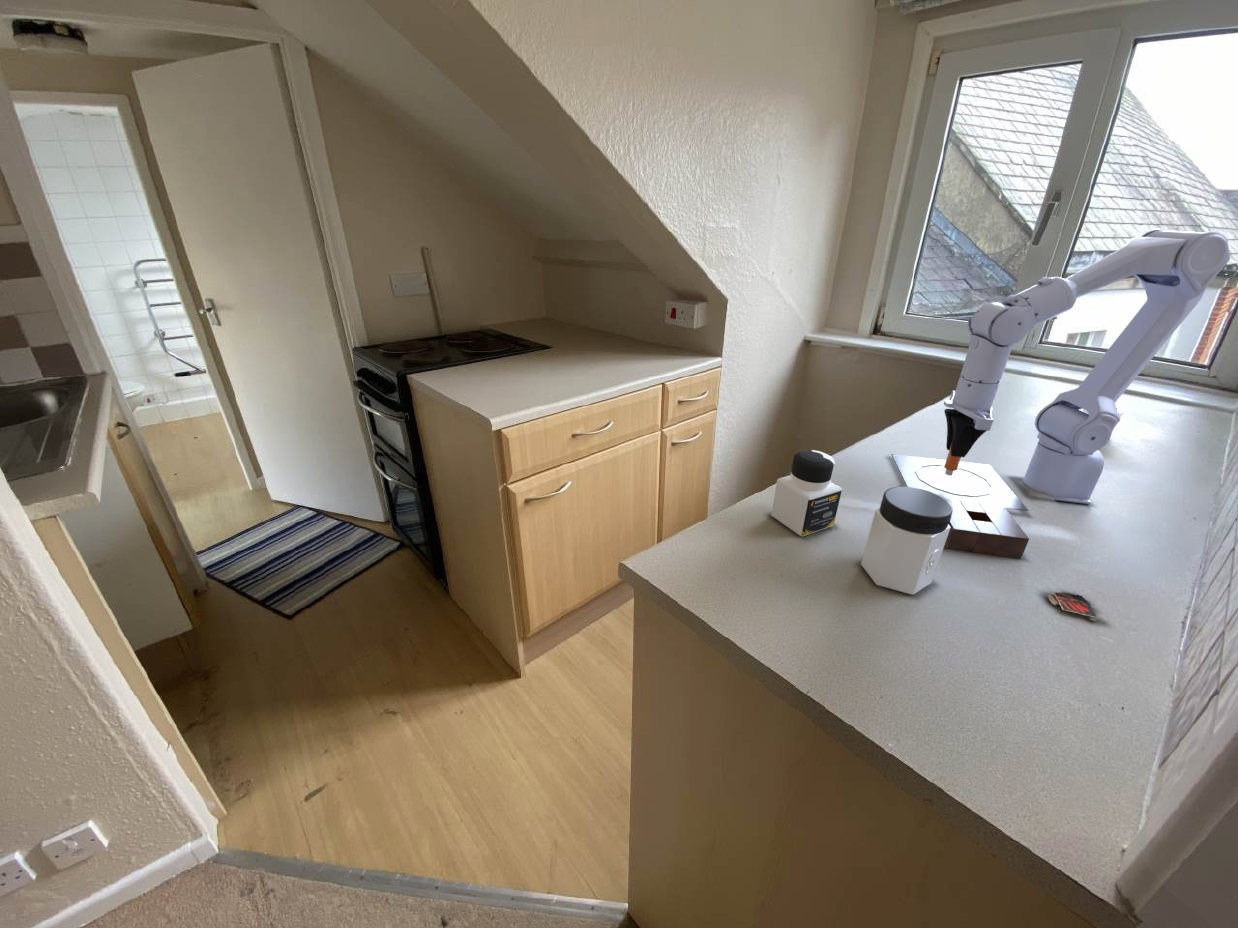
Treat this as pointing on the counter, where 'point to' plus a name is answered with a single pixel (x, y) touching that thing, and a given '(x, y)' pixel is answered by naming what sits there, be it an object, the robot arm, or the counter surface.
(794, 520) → the medicine bottle
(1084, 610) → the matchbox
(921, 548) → the jar
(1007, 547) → the pen stand
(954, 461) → the marker
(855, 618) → the counter surface
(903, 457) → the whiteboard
